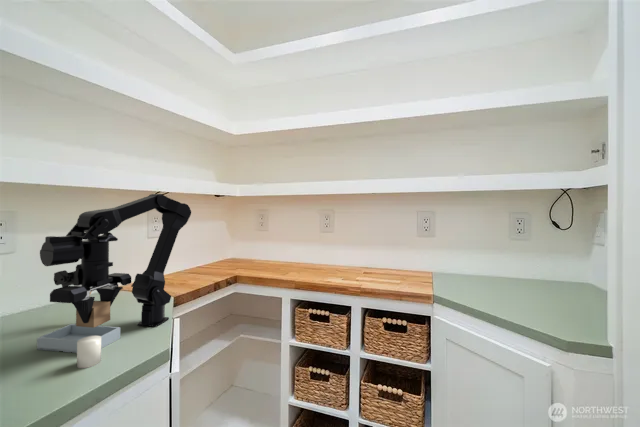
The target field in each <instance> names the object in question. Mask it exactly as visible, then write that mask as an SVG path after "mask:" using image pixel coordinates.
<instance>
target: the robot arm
mask: <svg viewBox="0 0 640 427" xmlns="http://www.w3.org/2000/svg"><path fill="white" fill-rule="evenodd" d="M152 210H156V211H157V212H158V213H159V214H161V222H162V228H161V231H160V233H159V237H158V238H157V241H156V244H155V246H154V249H153V252H152V255H151V258H150V260H149V262H148V265H147V268H146V269H145V270H144V271H143V272H142V273H136V275H135V277H134V281H133V283H132V276H131V275H130V274H129V273H125V272H123V273H122V272H121V273H119V272H114V273H110V267H111V268H112V267H113V266H114V262H113V261H110V242H117V241H118V240H119V239H118V237H116V236H115V235H113V233H111V231H113V230H115V229H116V228H118V227H119V226H120V225H121V224H122V223H123V222H125V221H126V220H129V219H132V218H134V217H137V216H140V215H141V214H142V215H143V214H145V213H147V212H149V211H152ZM191 215H192V210H191V207H190V206H189V205H188V204H187V203H185V202H184V203H182V202H180V201H177V200H176V199H175V200H174V199H172V198H170V197H168V196H166V195H164V194H161V193H151V194H149V195H148V196H147V195H146V196H144V197H142V198H139V199H136V200H135V199H134V200H132V201H129V202H127V203H123V204H121V205H118V206H114V207H110V208H103V209H96V210H95V209H94V210H88V211H84V212H82V213H81V214H79V216H78V218H77V221H76V223H75V225H73V227H72V228H71V229H70V230H69V232H67V233H66V235H63V236H54V235H52V236H49V235H48V236H46V237H45V239H44V240H45V241H44V242H43V243H42V244H41V245H42V246H41V248H40V249H39V258H40V261H41V263H42V265H43V266H44V267H51V266H60V265H67V264H75V263H77V262H78V264H76V266H75V270H73V271H67V270H60V271H57V272H54V274H53V282H54V285H55V286H59V285H61V287H58V288H55V289H53V290H52V291H50V293H49V302H50V303H62V304H72V305H73V306H74V308H75V310H76V309H77V311H78V313H79V315H80V317H81V319H82V321H83V323H88V322H89V319H90V316H91V311H92V307H93V303H94V301H95V296H91V294H90V291H92V292H93V291H96V292H97V293H98V295H99V301H108V302H110V308H111V306H112V305H113V303H114V301H115V300H116V298H117V296H118V294H119V293H120V291H121V290H123V286H127V285H130V284H131V286H130V287H132V289H131V294H132V296H133V297H134V298H135V299H136V301H137V303H138V304H142V305H141V316H140V317H141V318H140V320H141V321H139V322H138V323H137V322H136V325H137V326H141V327H143V326H144V327H158V326H159V325H162V324H163V323H165V322H166V321H169V319H170V318H169V317H167V316H165V315H166V314H165V309H166V308H165V306H166V304H169V303H170V302H171V299H172V295H171V294H170V293H169V292H167V291H166V290H165V286H166V279H165V270H166V267H167V265H168V262H169V259H170V256H171V254H172V251H173V248H174V246H175V242H176V239H177V237H178V234H179V232H180V230H181V229H182V228H184V226H185V225H187V223H188V221H189V220H190V217H191ZM80 260H81V261H80ZM79 261H80V263H79ZM119 284H121V286H119ZM74 285H82V286H81V287H80V286H74ZM90 287H91V288H90Z"/></svg>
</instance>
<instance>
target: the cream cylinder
mask: <svg viewBox="0 0 640 427" xmlns="http://www.w3.org/2000/svg"><path fill="white" fill-rule="evenodd" d="M101 362H102V349H101V336H89V337H85V338H82V339H80V340H78V341H77V353H76V368H78V369H89V368H92V367H95V366H97V365H99V364H100V363H101Z"/></svg>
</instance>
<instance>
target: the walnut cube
mask: <svg viewBox="0 0 640 427" xmlns="http://www.w3.org/2000/svg"><path fill="white" fill-rule="evenodd" d="M75 311H76V312H75V316H76V317H75V320H76V321H75V324H76V326H80V327H92V328H94V327H96V326H102V325H103V324H105V323H108V322H109V321H111V307H110V302H108V301H100V300H94V303H93V307H92V311H91V316H90V319H89V322H88V323H83V321H82V319H81V317H80V315H79V313H78V311H77V309H76V308H75Z"/></svg>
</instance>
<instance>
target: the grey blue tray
mask: <svg viewBox="0 0 640 427" xmlns="http://www.w3.org/2000/svg"><path fill="white" fill-rule="evenodd" d="M89 336H101V350H102V348H105V347H107V346H109V345H110V344H112V343H114V342H116V341H118V340H119V339H121V326H120V327H119V326H108V325H107V326H106V325H98V326H96V327H94V328H92V327H80V326H76V323H69V324H68V325H65V326H63V327H59V328H58V329H56V330H52V331H51V332H48V333H45V334H43V335H40V336H38V337H37V338H36V350H37V351H49V352H59V351H63V352H62V353H71V352H72V354H73V353H74V354H77V341H78V340H80V339H82V338H85V337H89Z"/></svg>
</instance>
